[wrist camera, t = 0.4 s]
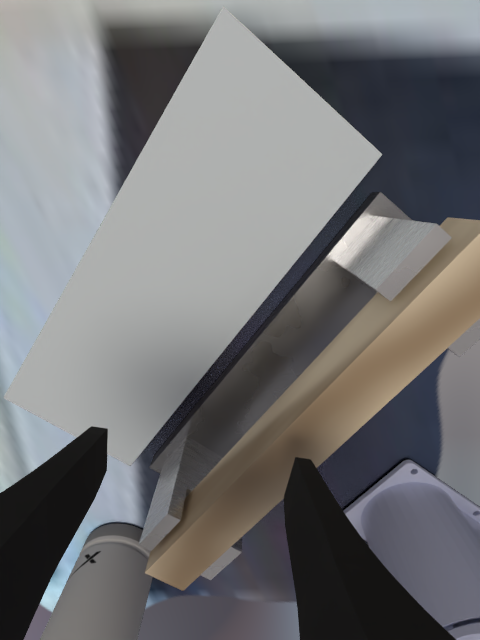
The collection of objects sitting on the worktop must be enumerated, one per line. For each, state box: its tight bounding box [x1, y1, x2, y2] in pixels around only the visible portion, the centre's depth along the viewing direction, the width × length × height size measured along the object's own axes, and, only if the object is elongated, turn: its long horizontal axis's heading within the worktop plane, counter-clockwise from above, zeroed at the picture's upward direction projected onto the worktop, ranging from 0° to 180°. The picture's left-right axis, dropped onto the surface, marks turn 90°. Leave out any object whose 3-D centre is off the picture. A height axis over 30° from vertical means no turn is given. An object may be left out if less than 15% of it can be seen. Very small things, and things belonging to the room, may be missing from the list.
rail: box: [145, 218, 480, 591], centre depth 16 cm, size 2×23×2 cm, turn 143°
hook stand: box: [139, 192, 480, 580], centre depth 18 cm, size 6×23×7 cm, turn 143°
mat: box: [4, 6, 382, 466], centre depth 19 cm, size 10×26×1 cm, turn 143°
